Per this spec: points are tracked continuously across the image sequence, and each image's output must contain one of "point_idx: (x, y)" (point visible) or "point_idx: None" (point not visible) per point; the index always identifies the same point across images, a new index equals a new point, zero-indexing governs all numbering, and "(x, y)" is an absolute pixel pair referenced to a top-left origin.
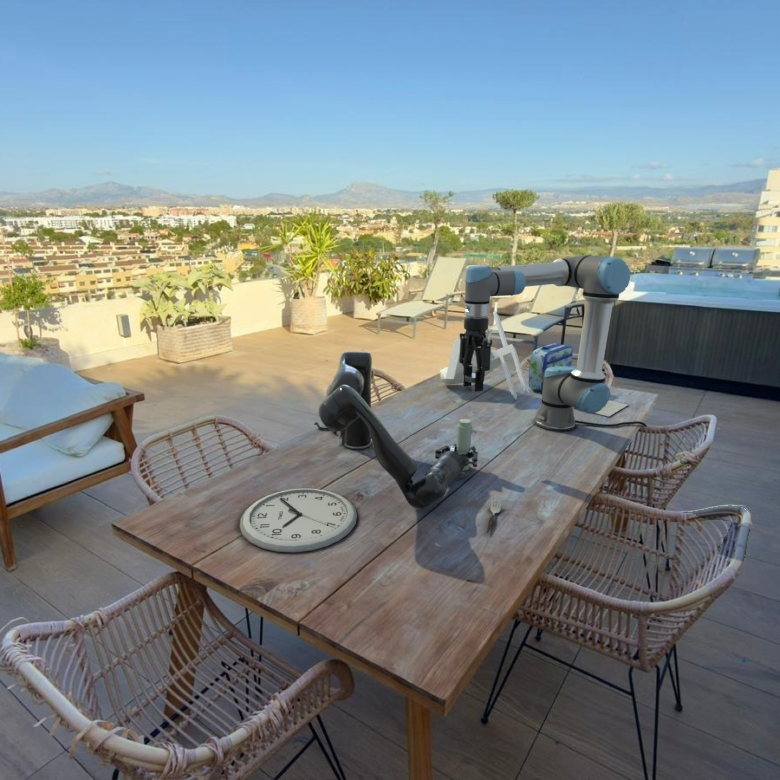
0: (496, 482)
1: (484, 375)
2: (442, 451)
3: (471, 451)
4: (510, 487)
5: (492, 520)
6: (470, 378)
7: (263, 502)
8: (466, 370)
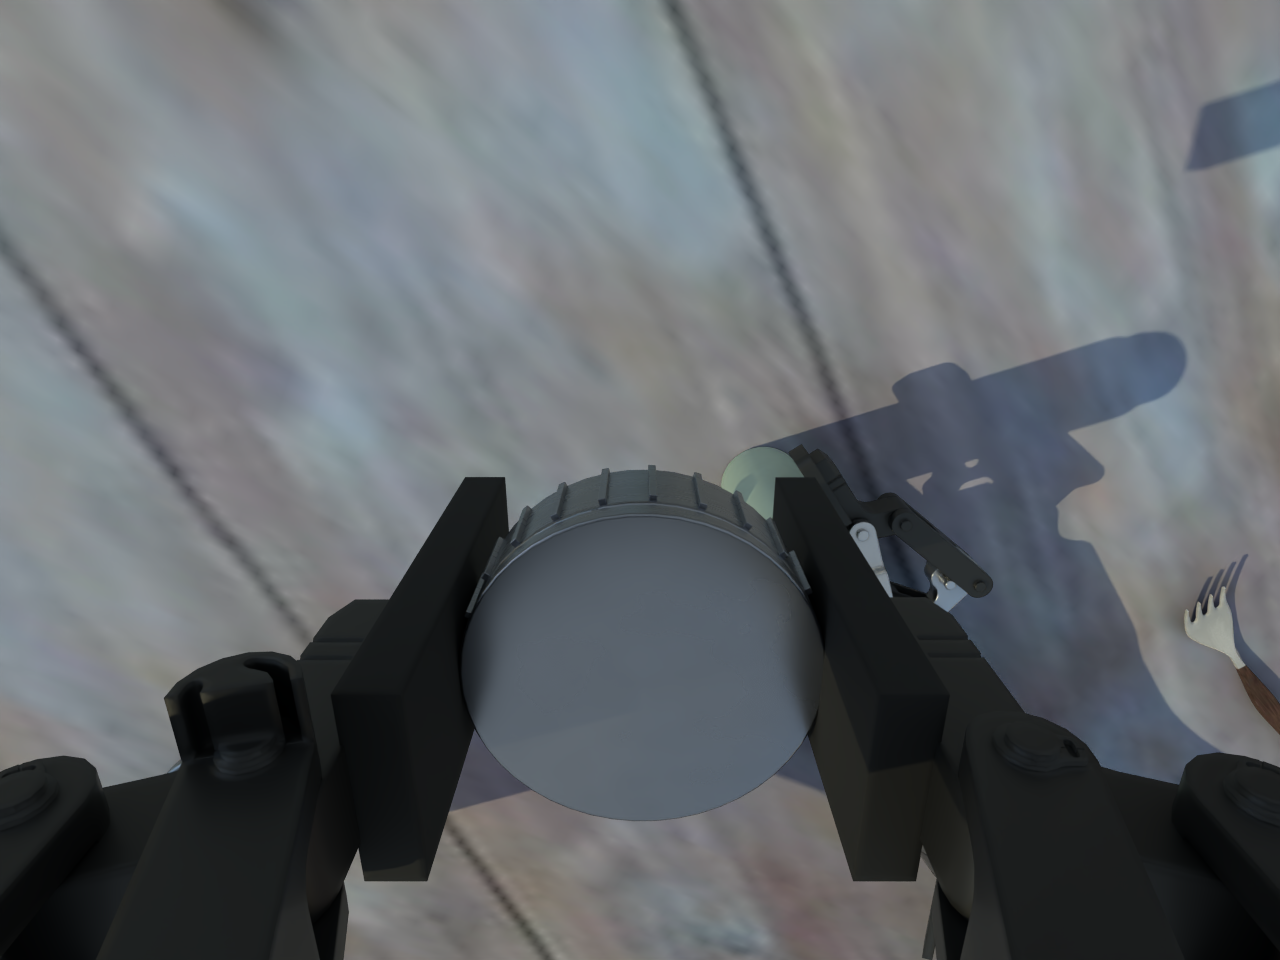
0: (1013, 427)
1: (1000, 680)
2: None
3: (877, 539)
4: (1104, 396)
5: (1272, 701)
6: (727, 788)
7: None
8: (445, 795)
